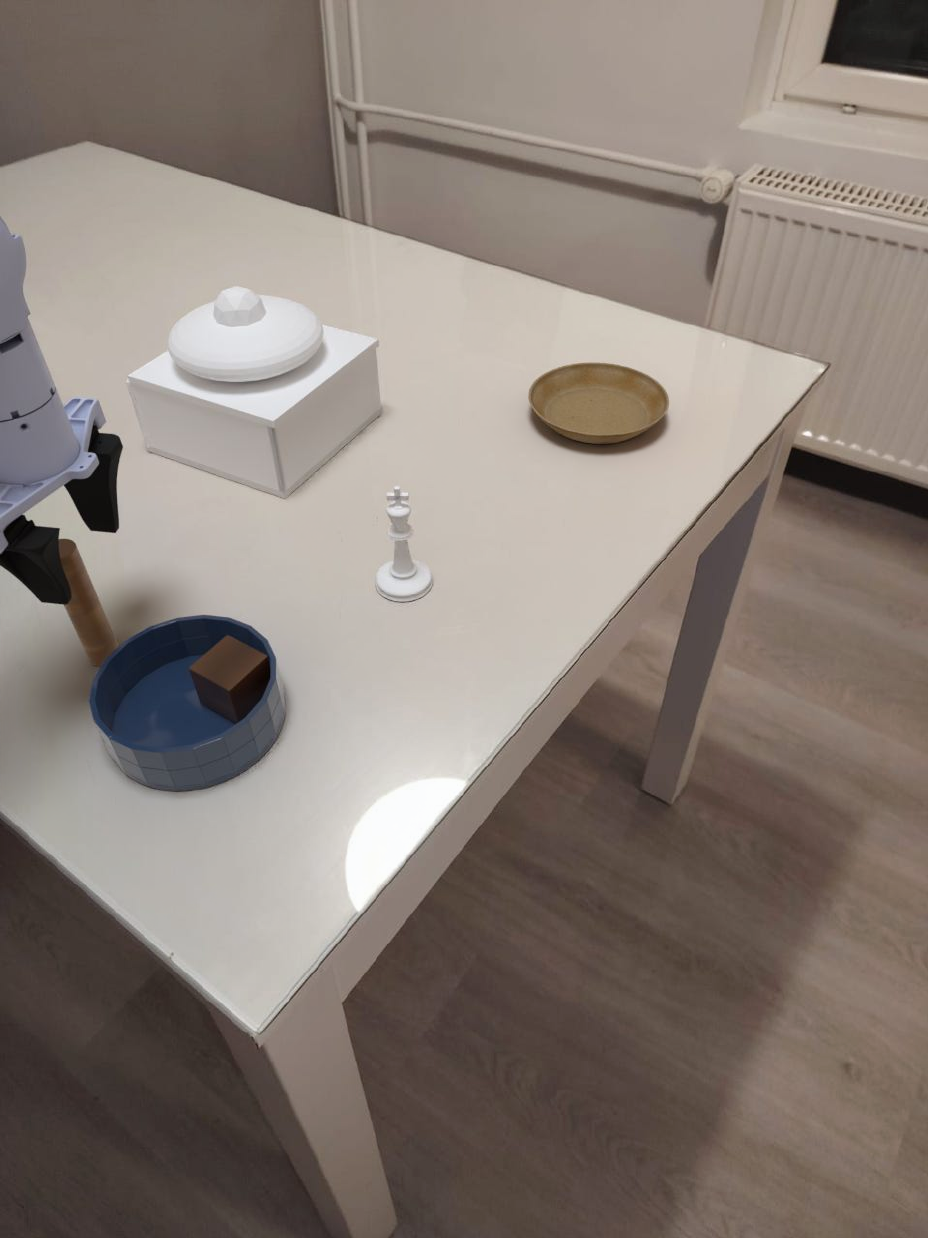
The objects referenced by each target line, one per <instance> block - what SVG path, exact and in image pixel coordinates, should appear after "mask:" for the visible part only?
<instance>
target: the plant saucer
mask: <svg viewBox="0 0 928 1238" xmlns="http://www.w3.org/2000/svg"><path fill="white" fill-rule="evenodd" d="M527 397H528V398H527V399H528V402H529V405H530V406H531V408H532V410H533V411H534V413H535V415H537V417H538V418H539V420H541V421H542V422H543V423H544V424H546V425H547V426H548V427H549V428H551V429H552V430H553V431H554V432H556V433H557V434H559V435H561V436H563V437H565V438H567V439H570V440H572V441H576V442H579V443H584V444H585V443H587V444H592V445H593V444H594V445H595V444H596V445H605V444H606V445H608V444H609V445H610V444H616V443H620V442H624V441H628V440H630V439H633V438H635V437H637V436H639V435H640V434H642V433H644V432H646V431H647V430H649V429H650V428H652V427H653V426H654V425H655V424H657V423H658V422H659V421H660V420H661V419H662V418H663V417H664V416H665V415H666V413H667V412H668V410H669V407H670V398H669V394H668V392H667V390H666V389H665V387H664V386H663V385H662V384H661V383H660V382H659V381H658V380H657V379H655V378H653V377H652V376H650V375H649V374H646V373H644V372H642V371H640V370H637V369H635V368H631V367H629V366H625V365H620V364H615V363H607V362H579V363H570V364H565V365H562V366H559V367H556V368H553V369H551V370H549V371H547V372H545V373H543V374H541V375H540V376H538V377H537V378H536V379H535V380H534V381H533V383H532V384H531V385H530V387H529V390H528V395H527Z"/></svg>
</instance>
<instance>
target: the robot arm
mask: <svg viewBox="0 0 928 1238" xmlns="http://www.w3.org/2000/svg"><path fill="white" fill-rule="evenodd" d="M26 272H27V253H26V247H25V243H24V240H23V237H22V235H20V234H15V233H13V232H11V231H10V229H9V226H8V225H7V223H6V222H5V221H4V219H3V218H2V217H1V216H0V567H2V568H3V569H5V570H6V571H7V572H8V573H10V574H11V575H12V576H13V577H15V578H16V579H17V580H19V582H20V583H22V584H23V586H25V587H26V588H27V589H28V590H29V591H30V592H31V593H32V594H33V595H34V596H35V597H36V599H38V601H40V602H41V603H45V604H54V605H63V606H64V605H66V604H68V603H69V601H70V600H71V598H72V595H71V588H70V585H69V582H68V580H67V577H66V575H65V572H64V570H63V567H62V563H61V559H60V553H59V539H60V532H61V531H60V530H61V528H60V527H52V526H41V525H36V524H35V522H34V520H33V519H29V520H28V519H27V517H26V515H25V513H27V512H28V511H29V510H31V509H32V508H34V507H35V506H36V505H38V504H39V503H40V502H42V501H43V500H45V499H46V498H48V497H49V496H51V495H52V494H53V493H55V492H56V491H58V490H59V489H61V488H62V487H63V486H64V488H65V490H66V491H67V492H68V493H67V494H68V495H69V496H70V498H71V501H72V503H73V504H74V506H75V508H76V510H77V512H78V514H79V516H80V518H81V520H82V521H83V523H84V524H85V525H86V527H87V528H88V529H89V531H90V532H98V533H99V532H100V533H109V534H116V533H117V532H118V530H119V529H120V517H119V504H118V474H119V473H118V471H119V466H120V459H121V456H122V452H123V449H124V445H123V443H122V440H121V438H120V436H119V435H117V434H115V433H108V432H107V433H106V432H100V431H99V430H100V429H102V428H103V427H104V426H105V424H106V423H107V419H106V417H105V414H104V411H103V409H102V406H101V403H100V399H98V398H92V397H91V398H90V397H78V396H72V397H71V398H70V399H69V400H68V401H67V402H65V404H63V402H62V399H61V397H60V395H59V394H60V393H59V392H58V389H57V386H56V385H55V381H54V378H53V377H52V374H51V371H50V368H49V366H48V364H47V361H46V359H45V356H44V353H43V351H42V349H41V347H40V344H39V341H38V339H37V337H36V333H35V331H34V329H33V327H32V324H31V321H30V319H29V316H30V315H31V311H30V309H29V306H28V303H27V301H26V298H25V293H24V282H25V278H26Z"/></svg>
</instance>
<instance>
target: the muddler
mask: <svg viewBox="0 0 928 1238" xmlns="http://www.w3.org/2000/svg"><path fill="white" fill-rule="evenodd" d="M59 553H60V559H61V563H62V567H63V570H64V572H65V575H66V577H67V580H68V582H69V585H70V588H71V595H72V598H71V600H70V601H69V603H68V604H66V605H63V607H64V609H65V611H66V613H67V615H68V617H69V620H70V622H71V624H72V626H73V628H74V631H75V632H76V634H77V637H78V639H79V641H80V643H81V646H82V648H83V650H84V652H85V655H86V657H87V659H88V661H89V662H90V663H91V665H94V666H97V667H101V665H102V664H103V662H104V661H105V659H106V658H107V657H108V656H109V655H110V654H111V653H112V652H113V651H114V650H115V649H117V648H118V647H119V646H120V645H119V644H118V641H117V639H116V637H115V635H114V631H113V630H112V627H111V624H110V622H109V619H108V617H107V615H106V613H105V610H104V608H103V606H102V604H101V601H100V598H99V596H98V594H97V591H96V589H95V586H94V583H93V582H92V580H91V577H90V575H89V572H88V570H87V567H86V565H85V562H84V560H83V558H82V555H81V553H80V551H79V548H78V546H77V543H76V542H75V541H74V540H73V539H69V538H59Z"/></svg>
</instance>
